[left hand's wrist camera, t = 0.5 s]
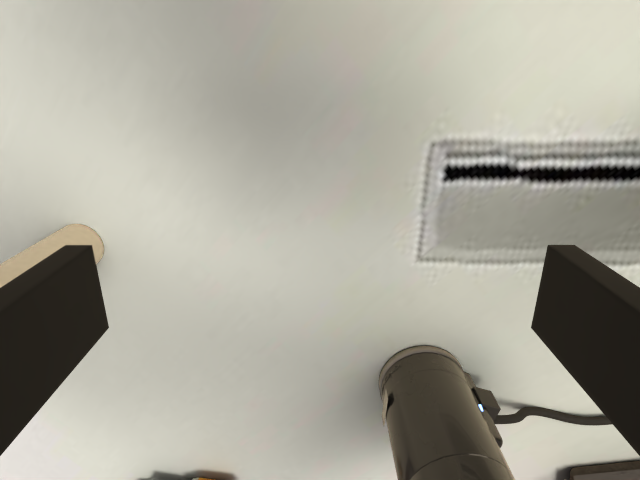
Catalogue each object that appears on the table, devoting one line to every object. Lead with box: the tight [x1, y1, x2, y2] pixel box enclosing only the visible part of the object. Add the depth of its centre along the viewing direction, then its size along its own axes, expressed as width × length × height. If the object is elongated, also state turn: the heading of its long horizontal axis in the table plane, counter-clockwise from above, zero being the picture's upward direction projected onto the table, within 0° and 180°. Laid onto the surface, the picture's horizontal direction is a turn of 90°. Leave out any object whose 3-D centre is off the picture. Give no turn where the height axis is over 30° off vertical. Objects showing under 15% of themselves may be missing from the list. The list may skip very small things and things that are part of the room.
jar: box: [0, 224, 104, 288], centre depth 35 cm, size 5×5×15 cm
